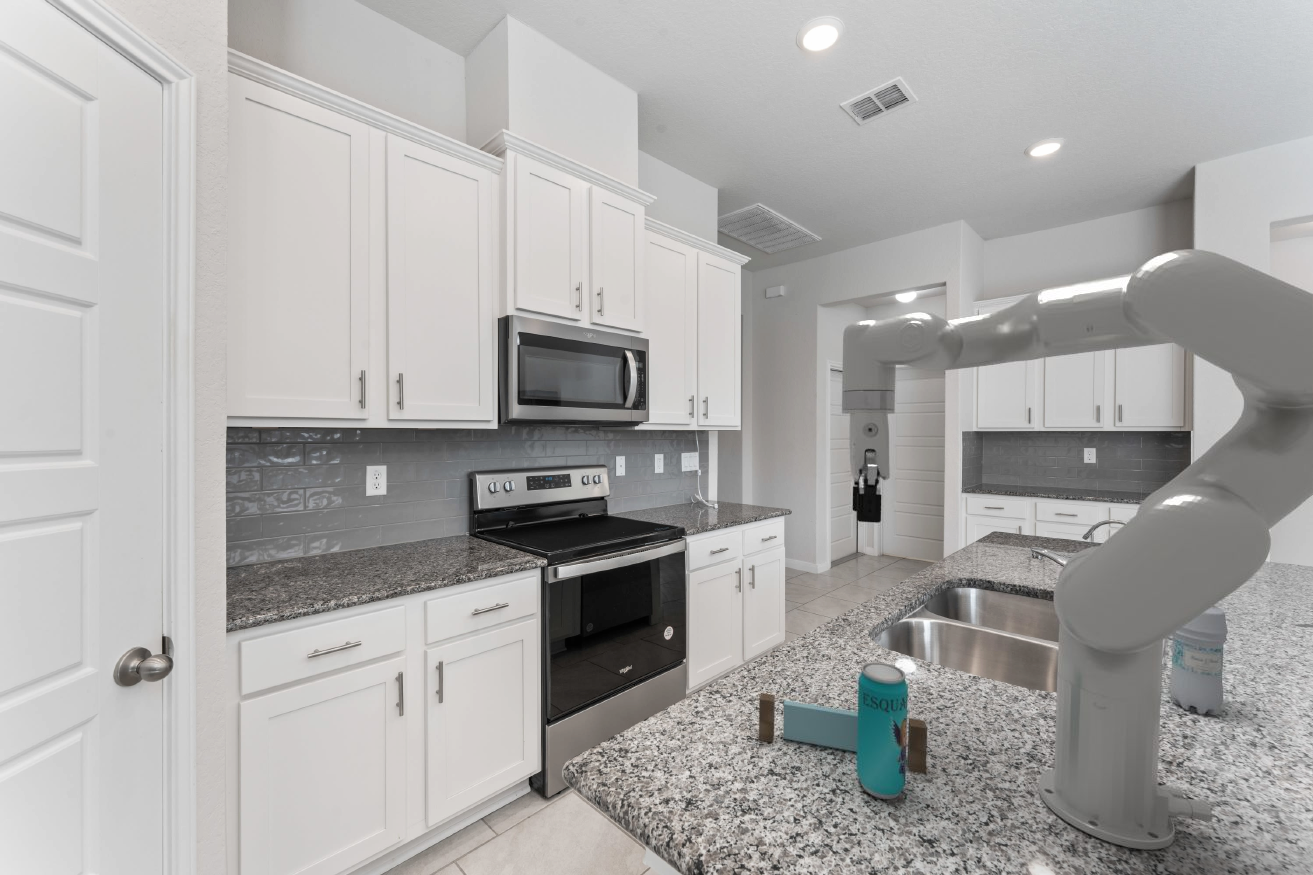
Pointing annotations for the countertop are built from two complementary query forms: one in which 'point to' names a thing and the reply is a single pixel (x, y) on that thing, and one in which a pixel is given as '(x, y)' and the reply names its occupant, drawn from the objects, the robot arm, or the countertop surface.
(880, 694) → the beverage can
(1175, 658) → the bottle
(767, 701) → the twin wooden posts
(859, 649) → the countertop surface
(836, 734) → the gate door
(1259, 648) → the countertop surface
